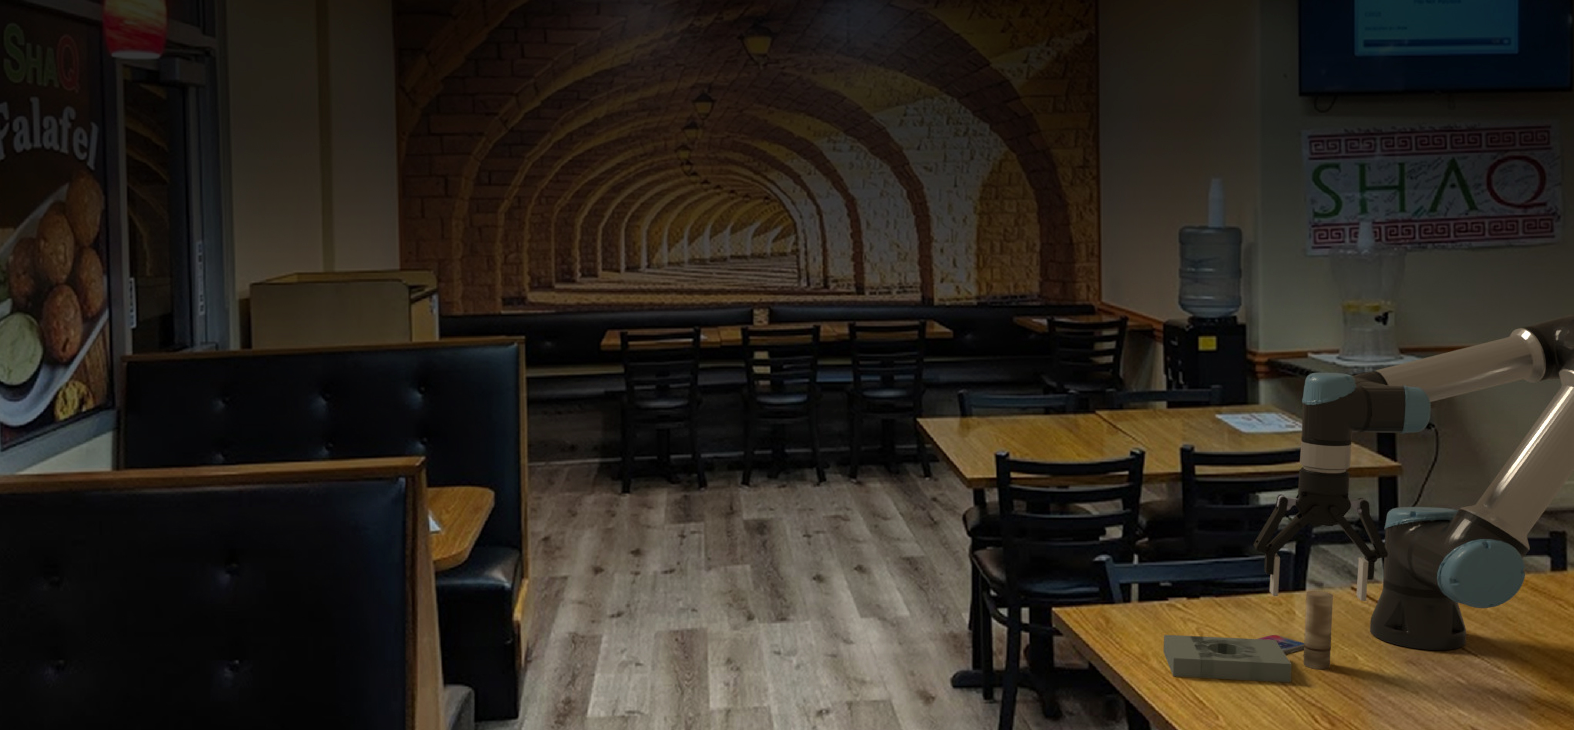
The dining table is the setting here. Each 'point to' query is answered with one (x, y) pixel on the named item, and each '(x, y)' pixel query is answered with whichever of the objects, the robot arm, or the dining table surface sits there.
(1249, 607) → the dining table surface
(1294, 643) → the smartphone
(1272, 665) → the board
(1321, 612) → the peg
